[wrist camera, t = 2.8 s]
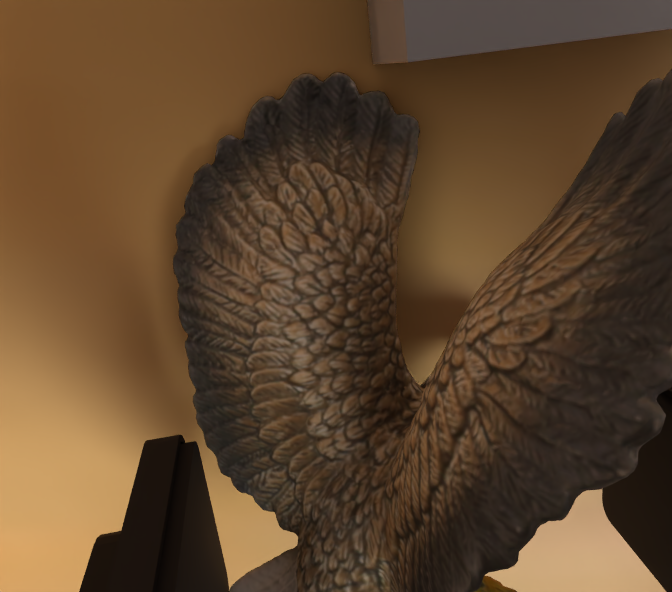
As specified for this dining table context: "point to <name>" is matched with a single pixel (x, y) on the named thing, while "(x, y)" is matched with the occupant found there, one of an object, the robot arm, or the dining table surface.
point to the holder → (501, 24)
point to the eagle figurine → (386, 354)
